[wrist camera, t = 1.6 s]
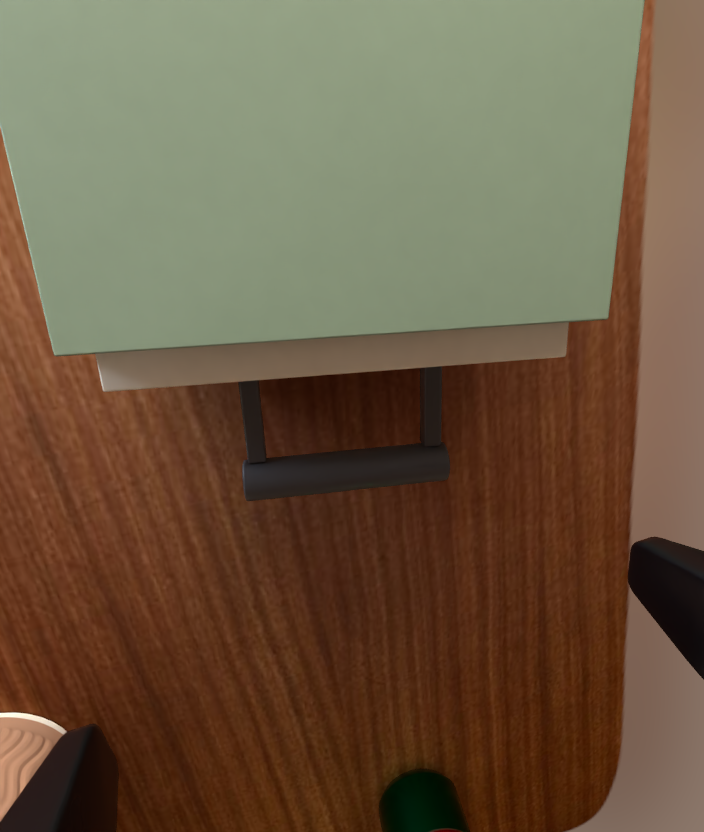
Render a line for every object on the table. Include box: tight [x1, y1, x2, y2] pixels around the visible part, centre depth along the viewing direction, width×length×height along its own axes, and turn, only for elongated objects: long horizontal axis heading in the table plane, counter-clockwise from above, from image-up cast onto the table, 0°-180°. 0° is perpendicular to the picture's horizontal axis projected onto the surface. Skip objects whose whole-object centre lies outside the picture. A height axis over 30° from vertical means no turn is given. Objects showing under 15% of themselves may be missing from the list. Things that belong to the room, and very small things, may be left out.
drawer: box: [95, 322, 569, 501], centre depth 16 cm, size 18×14×7 cm
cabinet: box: [0, 0, 645, 356], centre depth 15 cm, size 15×15×9 cm
